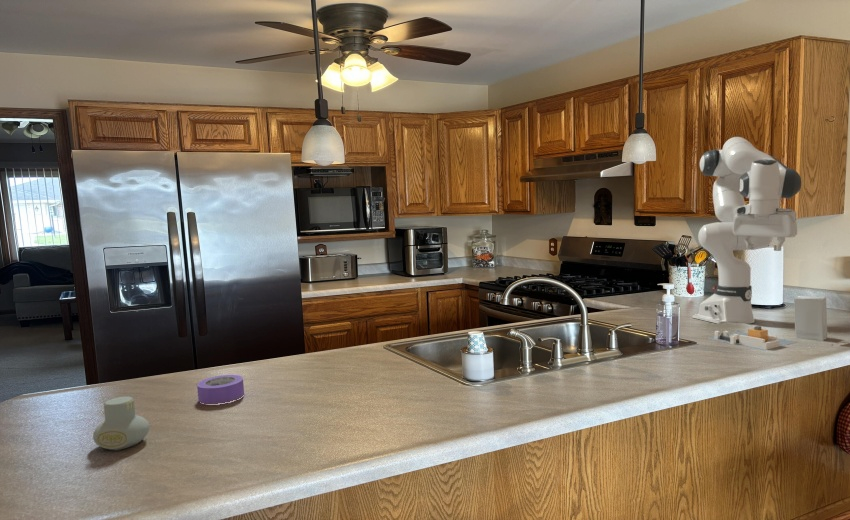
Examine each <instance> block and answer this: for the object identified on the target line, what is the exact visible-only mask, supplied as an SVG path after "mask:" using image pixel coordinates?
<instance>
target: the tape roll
mask: <svg viewBox="0 0 850 520" xmlns="http://www.w3.org/2000/svg"><path fill="white" fill-rule="evenodd" d="M196 388H197V398H198V403H199V402H201V403H204V404H218V403H225V402H230V401H233V400H237V399H239V398H241V397H242V396H243V395H244V396H245V388H244V378H243V376H242V375H239V374H221V375H217V376H211V377H207V378H205V379H202V380H200V381H199V382H198V383H197V384H196Z"/></svg>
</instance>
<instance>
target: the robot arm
mask: <svg viewBox="0 0 850 520" xmlns="http://www.w3.org/2000/svg"><path fill="white" fill-rule="evenodd" d="M699 169H700V172H701V174H702V175H703V176H706V177H718V178H717V179H716V180H715V181H714V183H713V186H712V203H713V208H714V214H715V217H716V218H717V220H719V221H720V222H718V221H717V222H711V223H707V224H703V226H701V227H700V228H699V231H698V233H697V234H698V235H697V239H698V243H699V245H700V246H701V247H702V248H703V249H705V250H706V251H707V252H709V254H710V255H711V256H712V257H713V258H714V260H715V263H716V266H717V273H718V274H717V275H718V276H717V277H718V284H717V285H715V286H713V287H712V289H711V290H714V293H713V294H711V296H709V297H707V298H706V299H704V300H703V301H701V302H700V304H699V308H698V312H697V313H694V314H693V315H692V318H693V319H697V320H701V321H705V322H710V323H713V324H724V323H740V324H746V325H749V324H753V323H755V318H754V314H753V309H752V308H753V306H752V297H753V295H752V294H753V291H752V285H751V274H752V273H751V271H752V270H751V266H750V264H749V263H748V262H746V261H745V260H742V259H741V258H739V257H736V256H735V255H734V251H748V250H749V251H752V250H754V251H755V250H760V249H765V248H768V247H769V246H770V245H771V243H772V241H773V238H776V241H778V242H777V243H776V245H773V251H774V252H775V251H776V252H779V251H780V252H781V251H782V245H784V243H785V242H786V238H795V237H796V236H797V234H798V223H797V212H796V211H795V210H794V209H792V208H781V207H780V205H781V204H780V203H781V202H780V201H781V199H792V198H793V197H794V196H795V195H797V194H798V193H799V192H800V190H801V188H802V177H801V175H800V174H799V172H798V171H797V170H796V169H794V168H789V167H787V166H786V165H785V164H784V163H783V162H781V161H780V160H779V159H778V158H776V157H774V155H770V154H768V153H766V152H763V151H761V150H759V149H757V148H756V147H755V146H754V145H753V144H752V143H751V142H750V141H749V140H747V139H746V138H744V137H743V136H733V137H731V138H729V139H728V140H726V141H725V142H724V144H723V146H722V149H716V148H714V149H712V150H707V151H705V152H704V153H703V154H702V155H701V158H700V159H699ZM745 199H748V202H749V203H747V204H746V202H745Z"/></svg>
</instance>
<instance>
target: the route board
mask: <svg viewBox="0 0 850 520" xmlns="http://www.w3.org/2000/svg"><path fill="white" fill-rule="evenodd" d="M713 335H714V336H713V337H709V338H708V337H707V338H706V340H710V341H715V342H719V343H720V342H722V343H726V344H730V345H734V346H739V347H745V348H749V349H754V350H759V351H767V350H771V349H775V348H781V347H784V346H789V345H792V344H796V343H798V341H793V340H789V339H788V340H787V339H783V338H778V336H777V335H771V334H768V342H765V339H761V338H755V337H750V336H748V332H745V331H744V332H743V331H737V332H732V333H730V331H728V330H723V332H722V333H721V331H719V330H715V331H714V334H713Z"/></svg>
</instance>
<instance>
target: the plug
mask: <svg viewBox="0 0 850 520" xmlns="http://www.w3.org/2000/svg"><path fill="white" fill-rule="evenodd" d="M747 333H748V336H750V337H755V338H761V339H765V342H768V335H769V330H768V329H766V328H762V326H760V325H755V326H754V327H753V328H748V330H747Z"/></svg>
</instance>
